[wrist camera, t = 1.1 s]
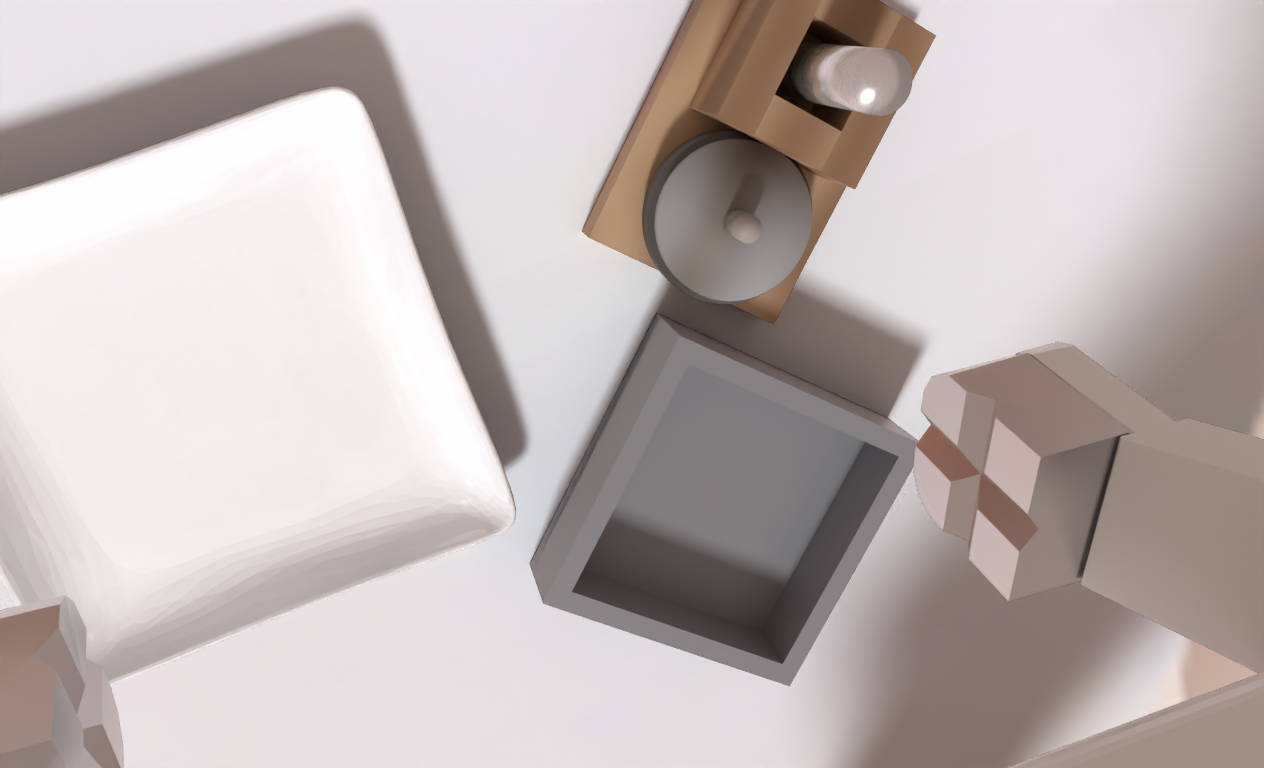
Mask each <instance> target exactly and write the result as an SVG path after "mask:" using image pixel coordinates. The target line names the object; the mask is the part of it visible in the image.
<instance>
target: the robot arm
mask: <svg viewBox="0 0 1264 768" xmlns="http://www.w3.org/2000/svg"><path fill="white" fill-rule="evenodd" d="M921 411H922V413H923V414H924V415H925V417H926V418H927V419H928V421H929V422H930V423H931V425H930V427H929V428H928V429H927V431H926V432H925V434H924V435H923V436H922V438H921V439H920V440H919V442H918V443H917V445H916V448H915V458H914V468H913V474H914V478H915V482H916V486H917V490H918V494H919V498H920V499H921V501H922V503H923V505H924V507H925V509H926V510H927V512H928V514H929V515H930V517H931V518H932V519H933V520H934V521H935V522H936V523H937V525H938V526H939V527H940V528H941V529H942V530H943V531H945V532H948V533H950V534H953V535H955V536H958V537H960V538H963V539H966V540H968V541H969V560H970V561H971V562H972V563H973V564H974V565H975V566H976V567H977V568H978V569H979V570H980V572H981V573H982V574H983V575H984V576H985V577H986V578H987V579H988V580H989V581H990V582H991V583H992V584H993V586H994V587H995V588H996V589H997V590H998V591H999V592H1000V593H1001V594H1002V595H1003V596H1004V597H1005V598H1006V600H1007V601H1008V602H1009V601H1013V600H1016V599H1020V598H1023V597H1026V596H1030V595H1033V594H1037V593H1040V592H1044V591H1047V590H1050V589H1054V588H1057V587H1061V586H1064V585H1068V584H1071V583H1074V582H1078V581H1081V580H1082V581H1081V585H1082V586H1084V587H1086V588H1088V589H1090V590H1092V591H1094V592H1096V593H1098V594H1100V595H1102V596H1104V597H1106V598H1108V599H1110V600H1112V601H1114V602H1116V603H1118V604H1120V605H1122V606H1124V607H1126V608H1128V609H1130V610H1132V611H1134V612H1136V613H1138V614H1140V615H1142V616H1144V617H1146V618H1148V619H1150V620H1152V621H1154V622H1156V623H1158V624H1160V625H1162V626H1164V627H1166V628H1168V629H1170V630H1172V631H1174V632H1176V633H1178V634H1180V635H1182V636H1184V637H1186V638H1188V639H1190V640H1192V641H1194V642H1196V643H1198V644H1200V645H1202V646H1205V647H1206V648H1208V649H1210V650H1212V651H1214V652H1216V653H1218V654H1220V655H1222V656H1224V657H1226V658H1228V659H1230V660H1232V661H1234V662H1236V663H1238V664H1240V665H1242V666H1244V667H1246V668H1249V669H1250V670H1252V671H1254V672H1256V673H1258V674H1256V675H1254V676H1251V677H1248V678H1246V679H1243V680H1240V681H1238V682H1235V683H1232V684H1230V685H1227V686H1224V687H1222V688H1219V689H1216V690H1213V691H1211V692H1208V693H1206V694H1203V695H1200V696H1198V697H1195V698H1192V699H1189V700H1187V701H1184V702H1181V703H1179V704H1176V705H1173V706H1171V707H1168V708H1165V709H1162V710H1160V711H1157V712H1154V713H1152V714H1149V715H1146V716H1144V717H1141V718H1138V719H1136V720H1133V721H1130V722H1128V723H1125V724H1122V725H1120V726H1117V727H1114V728H1112V729H1109V730H1106V731H1104V732H1101V733H1098V734H1095V735H1093V736H1090V737H1087V738H1085V739H1082V740H1079V741H1077V742H1074V743H1071V744H1069V745H1066V746H1063V747H1061V748H1058V749H1055V750H1053V751H1050V752H1047V753H1045V754H1042V755H1039V756H1037V757H1034V758H1031V759H1028V760H1026V761H1023V762H1020V763H1018V764H1015V765H1012V766H1010V767H1007V768H1264V439H1261V438H1258V437H1254V436H1250V435H1247V434H1243V433H1240V432H1236V431H1233V430H1229V429H1225V428H1222V427H1218V426H1215V425H1211V424H1208V423H1204V422H1201V421H1197V420H1193V419H1190V418H1186V419H1182V420H1178V421H1175V420H1173V419H1172V418H1171V417H1169V416H1168V415H1167V414H1165V413H1164V412H1163V411H1161V410H1160V409H1158V408H1157V407H1156V406H1154V405H1153V404H1152V403H1150V402H1149V401H1148V400H1146V399H1145V398H1144V397H1142V396H1141V395H1140V394H1138V393H1137V392H1136V391H1134V390H1133V389H1131V388H1130V387H1129V386H1127V385H1126V384H1125V383H1123V382H1122V381H1121V380H1119V379H1118V378H1117V377H1115V376H1114V375H1113V374H1111V373H1110V372H1109V371H1107V370H1106V369H1104V368H1103V367H1102V366H1100V365H1099V364H1098V363H1096V362H1095V361H1094V360H1092V359H1091V358H1090V357H1088V356H1087V355H1086V354H1084V353H1083V352H1082V351H1080V350H1079V349H1077V348H1076V347H1075V346H1073V345H1070V344H1066V343H1062V342H1055V343H1051V344H1048V345H1044V346H1041V347H1037V348H1033V349H1030V350H1026V351H1023V352H1019V353H1017V354H1015V355H1014V356H1009V357H1005V358H1001V359H997V360H993V361H989V362H986V363H982V364H978V365H974V366H970V367H966V368H962V369H959V370H955V371H951V372H947V373H943V374H939V375H935V376H932V377H931V379H930V381H929V383H928V384H927V386H926V388H925V389H924V394H923V400H922V406H921ZM0 768H124V756H123V741H122V735H121V728H120V721H119V715H118V710H117V707H116V703H115V700H114V696H113V693H112V690H111V686H110V684H109V681H108V679H107V676H106V674H105V672H104V669H103V667H102V666H101V665H98V664H96V663H94V662H92V661H90V660H88V659H86V627H85V625H84V622H83V620H82V618H81V616H80V614H79V612H78V610H77V607H76V605H75V603H74V601H73V600H72V599H70V598H69V597H67V596H66V595H64V596H59V597H55V598H51V599H46V600H42V601H38V602H33V603H29V604H25V605H21V606H16V607H12V608H8V609H3V610H0Z"/></svg>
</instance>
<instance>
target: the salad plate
mask: <svg viewBox="0 0 1264 768" xmlns="http://www.w3.org/2000/svg"><path fill="white" fill-rule="evenodd" d="M515 517H516V507H515V502H514V498H513V494H512V491H511V488H510V485H509V482H508V480H507V477H506V474H505V471H504V468H503V465H502V463H501V460H500V458H499V455H498V453H497V451H496V448H495V446H494V444H493V442H492V439H491V437H490V434H489V431H488V429H487V427H486V425H485V422H484V420H483V418H482V415H481V413H480V411H479V408H478V406H477V404H476V401H475V399H474V396H473V394H472V392H471V389H470V387H469V384H468V382H467V380H466V377H465V375H464V372H463V370H462V368H461V365H460V363H459V360H458V357H457V355H456V353H455V350H454V348H453V346H452V343H451V341H450V338H449V336H448V333H447V331H446V328H445V325H444V323H443V320H442V317H441V315H440V312H439V309H438V307H437V304H436V301H435V298H434V296H433V293H432V290H431V288H430V285H429V282H428V279H427V277H426V274H425V271H424V268H423V265H422V262H421V260H420V257H419V254H418V252H417V249H416V246H415V243H414V240H413V237H412V234H411V231H410V228H409V225H408V222H407V219H406V216H405V213H404V210H403V207H402V205H401V202H400V199H399V196H398V193H397V190H396V187H395V184H394V181H393V178H392V175H391V172H390V169H389V166H388V163H387V160H386V157H385V154H384V151H383V148H382V145H381V143H380V140H379V138H378V135H377V132H376V130H375V127H374V125H373V122H372V120H371V118H370V115H369V113H368V111H367V109H366V107H365V105H364V103H363V102H362V101H361V100H360V98H359V97H358V96H357V94H355V93H354V92H352V91H351V90H350V89H347V88H344V87H338V86H331V87H324V88H319V89H315V90H311V91H306V92H302V93H299V94H297V95H294V96H291V97H287V98H284V99H281V100H278V101H275V102H272V103H269V104H266V105H264V106H261V107H258V108H256V109H253V110H250V111H248V112H245V113H242V114H239V115H237V116H234V117H231V118H228V119H225V120H222V121H220V122H217V123H214V124H211V125H208V126H206V127H203V128H200V129H197V130H195V131H192V132H189V133H186V134H184V135H181V136H178V137H175V138H172V139H169V140H166V141H163V142H161V143H158V144H155V145H152V146H149V147H146V148H143V149H140V150H137V151H135V152H132V153H129V154H126V155H123V156H120V157H117V158H115V159H112V160H109V161H106V162H103V163H100V164H98V165H95V166H92V167H88V168H85V169H82V170H78V171H75V172H72V173H69V174H66V175H63V176H60V177H57V178H53V179H50V180H47V181H44V182H40V183H37V184H34V185H31V186H27V187H24V188H21V189H17V190H14V191H10V192H7V193H3V194H0V579H1V581H2V582H3V584H4V586H5V588H6V589H7V591H8V593H9V595H10V596H11V598H12V600H13V602H14V604H15V606H21V605H25V604H29V603H33V602H38V601H42V600H46V599H51V598H55V597H59V596H64V595H66V596H67V597H69V598H70V599H72V600H73V601H74V603H75V605H76V607H77V610H78V612H79V614H80V616H81V618H82V620H83V622H84V625H85V627H86V659H88V660H90V661H92V662H94V663H96V664H98V665H101V666H102V667H103V669H104V672H105V674H106V676H107V679H108V681H109V684H110V686H112V685H115V684H117V683H120V682H123V681H125V680H128V679H131V678H133V677H136V676H138V675H141V674H143V673H146V672H148V671H150V670H153V669H155V668H158V667H160V666H162V665H165V664H167V663H170V662H172V661H174V660H177V659H179V658H182V657H184V656H187V655H189V654H192V653H194V652H196V651H199V650H201V649H204V648H206V647H208V646H211V645H213V644H216V643H218V642H220V641H223V640H225V639H228V638H230V637H233V636H235V635H238V634H240V633H243V632H245V631H248V630H250V629H252V628H255V627H257V626H260V625H262V624H265V623H267V622H270V621H272V620H275V619H277V618H280V617H282V616H285V615H288V614H290V613H293V612H295V611H298V610H300V609H303V608H305V607H308V606H310V605H313V604H315V603H318V602H320V601H323V600H325V599H328V598H331V597H333V596H336V595H338V594H340V593H343V592H346V591H349V590H352V589H354V588H357V587H359V586H362V585H364V584H367V583H370V582H373V581H376V580H379V579H382V578H385V577H388V576H391V575H393V574H396V573H399V572H402V571H405V570H408V569H410V568H413V567H416V566H419V565H422V564H424V563H427V562H430V561H433V560H435V559H438V558H441V557H444V556H446V555H449V554H452V553H455V552H457V551H460V550H462V549H465V548H467V547H470V546H472V545H475V544H477V543H480V542H482V541H484V540H487V539H489V538H492V537H494V536H496V535H498V534H500V533H502V532H504V531H506V530H507V529H508V528H510V527H511V526H512V525H513V524H514V522H515Z"/></svg>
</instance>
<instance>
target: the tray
mask: <svg viewBox="0 0 1264 768" xmlns="http://www.w3.org/2000/svg"><path fill="white" fill-rule="evenodd" d="M918 442H919V441H918V440H917V439H915V438H914V437H913V436H911V435H910V434H909V433H907V432H906V431H905V430H903V429H902V428H901V427H899V426H898V425H896V424H895V423H894V422H892V421H891V420H890V419H888V418H887V417H884V416H882V415H880V414H878V413H875V412H873V411H871V410H869V409H867V408H864V407H862V406H860V405H858V404H856V403H853V402H851V401H849V400H847V399H845V398H842V397H840V396H838V395H836V394H834V393H831V392H829V391H827V390H825V389H823V388H820V387H818V386H816V385H814V384H812V383H809V382H807V381H805V380H803V379H801V378H798V377H796V376H794V375H792V374H790V373H787V372H785V371H783V370H781V369H778V368H776V367H774V366H772V365H770V364H767V363H765V362H763V361H761V360H759V359H756V358H754V357H752V356H750V355H748V354H745V353H743V352H741V351H739V350H737V349H734V348H732V347H730V346H728V345H726V344H723V343H721V342H719V341H717V340H715V339H712V338H710V337H708V336H706V335H704V334H701V333H699V332H697V331H695V330H693V329H690V328H688V327H686V326H684V325H682V324H679V323H677V322H675V321H673V320H670V319H668V318H666V317H664V316H662V315H659V314H657V313H656V315H655V317H654V319H653V320H652V322H651V324H650V326H649V328H648V330H647V332H646V334H645V336H644V338H643V340H642V342H641V344H640V346H639V348H638V350H637V352H636V354H635V356H634V358H633V360H632V362H631V364H630V366H629V368H628V370H627V372H626V374H625V376H624V378H623V380H622V382H621V384H620V386H619V388H618V390H617V392H616V394H615V396H614V398H613V400H612V402H611V404H610V406H609V408H608V410H607V412H606V414H605V416H604V418H603V420H602V422H601V424H600V426H599V428H598V430H597V432H596V434H595V436H594V438H593V440H592V442H591V444H590V446H589V448H588V450H587V452H586V453H585V455H584V457H583V459H582V461H581V463H580V465H579V467H578V469H577V471H576V473H575V475H574V477H573V479H572V481H571V483H570V485H569V487H568V489H567V491H566V493H565V495H564V497H563V499H562V501H561V503H560V505H559V507H558V509H557V511H556V513H555V515H554V517H553V519H552V521H551V523H550V525H549V527H548V529H547V531H546V533H545V535H544V537H543V539H542V541H541V543H540V545H539V547H538V549H537V551H536V553H535V555H534V557H533V559H532V561H531V563H530V567H531V570H532V572H533V575H534V578H535V581H536V584H537V587H538V590H539V593H540V596H541V598H542V601H543V604H546V605H549V606H552V607H555V608H558V609H561V610H564V611H567V612H570V613H573V614H576V615H579V616H582V617H585V618H588V619H591V620H594V621H597V622H600V623H603V624H606V625H609V626H612V627H615V628H618V629H621V630H623V631H626V632H629V633H632V634H635V635H638V636H641V637H644V638H647V639H650V640H653V641H656V642H659V643H662V644H665V645H668V646H671V647H674V648H677V649H680V650H683V651H686V652H689V653H692V654H695V655H698V656H701V657H704V658H707V659H710V660H713V661H716V662H719V663H722V664H725V665H728V666H731V667H734V668H737V669H740V670H743V671H746V672H749V673H752V674H755V675H758V676H761V677H764V678H767V679H770V680H773V681H776V682H779V683H782V684H785V685H788V686H790V685H791V683H792V681H793V679H794V677H795V676H796V674H797V672H798V670H799V669H800V667H801V665H802V663H803V662H804V660H805V658H806V656H807V654H808V653H809V651H810V649H811V647H812V646H813V644H814V642H815V640H816V638H817V637H818V635H819V633H820V631H821V630H822V628H823V626H824V624H825V623H826V621H827V619H828V617H829V615H830V614H831V612H832V610H833V608H834V607H835V605H836V603H837V601H838V600H839V598H840V596H841V594H842V592H843V591H844V589H845V587H846V585H847V584H848V582H849V580H850V578H851V576H852V575H853V573H854V571H855V569H856V568H857V566H858V564H859V562H860V561H861V559H862V557H863V555H864V553H865V552H866V550H867V548H868V546H869V545H870V543H871V541H872V539H873V538H874V536H875V534H876V532H877V530H878V529H879V527H880V525H881V523H882V522H883V520H884V518H885V516H886V514H887V513H888V511H889V509H890V507H891V506H892V504H893V502H894V500H895V499H896V497H897V495H898V493H899V491H900V490H901V488H902V486H903V484H904V483H905V481H906V479H907V477H908V475H909V474H910V472H911V470H912V468H913V467H914V458H915V448H916V445H917V443H918Z"/></svg>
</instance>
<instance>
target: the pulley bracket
mask: <svg viewBox="0 0 1264 768" xmlns="http://www.w3.org/2000/svg"><path fill="white" fill-rule="evenodd" d="M935 37H936V35H934V34H933V33H931V32H929V31H928V30H926V29H925V28H923V27H921V26H920V25H918V24H916V23H915V22H913V21H912V20H910V19H908V18H907V17H905V16H903V15H902V14H900V13H899V12H897V11H895V10H894V9H892V8H890V7H889V6H887V5H886V4H884V3H882V2H881V1H879V0H694V1H693V3H692V5H691V7H690V9H689V11H688V13H687V15H686V17H685V19H684V21H683V23H682V25H681V28H680V30H679V32H678V34H677V36H676V38H675V40H674V42H673V44H672V46H671V48H670V50H669V52H668V54H667V56H666V59H665V61H664V63H663V65H662V67H661V69H660V71H659V73H658V75H657V77H656V79H655V81H654V83H653V85H652V87H651V90H650V92H649V94H648V96H647V98H646V100H645V102H644V104H643V106H642V108H641V110H640V112H639V114H638V116H637V119H636V121H635V123H634V125H633V127H632V129H631V131H630V133H629V135H628V137H627V139H626V141H625V143H624V145H623V147H622V150H621V152H620V154H619V156H618V158H617V160H616V162H615V164H614V166H613V168H612V170H611V172H610V174H609V176H608V178H607V181H606V183H605V185H604V187H603V189H602V191H601V193H600V195H599V197H598V199H597V201H596V203H595V205H594V207H593V209H592V212H591V214H590V216H589V218H588V220H587V222H586V224H585V226H584V228H583V230H582V232H583V233H584V234H585V235H587V236H588V237H589V238H591V239H593V240H595V241H597V242H599V243H601V244H604V245H606V246H608V247H610V248H612V249H614V250H616V251H619V252H621V253H623V254H625V255H627V256H629V257H631V258H633V259H636V260H638V261H640V262H642V263H644V264H646V265H648V266H650V267H653V268H655V269H657V270H659V271H660V272H661V274H662V275H663V276H664V277H665V278H666V279H667V280H668V281H670V282H671V283H672V284H673V285H674V286H676V287H677V288H678V289H680V290H681V291H682V292H684V293H686V294H688V295H689V296H691V297H693V298H696V299H699V300H701V301H705V302H709V303H717V304H731V305H734V306H736V307H738V308H740V309H742V310H744V311H746V312H748V313H751V314H753V315H755V316H757V317H759V318H761V319H763V320H766V321H768V322H770V323H772V324H774V323H775V321H776V319H777V317H778V315H779V313H780V312H781V310H782V308H783V306H784V304H785V302H786V300H787V298H788V296H789V294H790V292H791V291H792V289H793V287H794V285H795V283H796V281H797V279H798V277H799V275H800V273H801V272H802V270H803V268H804V266H805V264H806V262H807V260H808V258H809V256H810V254H811V253H812V251H813V249H814V247H815V245H816V243H817V241H818V239H819V237H820V235H821V234H822V232H823V230H824V228H825V226H826V224H827V222H828V220H829V218H830V216H831V214H832V213H833V211H834V209H835V207H836V205H837V203H838V201H839V199H840V197H841V195H842V194H843V192H844V190H845V188H846V186H848V187H851V188H853V189H855V188H856V187H857V185H858V183H859V181H860V179H861V177H862V175H863V173H864V171H865V169H866V168H867V166H868V164H869V162H870V160H871V158H872V156H873V154H874V152H875V150H876V149H877V147H878V145H879V143H880V141H881V139H882V137H883V135H884V133H885V132H886V130H887V128H888V126H889V124H890V122H891V120H892V118H893V116H894V114H895V113H896V111H897V110H896V111H895V112H893V113H891V114H888V115H884V116H875V115H870V114H865V113H860V112H855V111H850V110H846V109H841V108H836V107H831V106H826V105H821V104H816V103H811V102H806V101H801V100H796V99H791V98H786V97H783V96H780V95H779V94H777V93H776V91H777V89H778V87H779V85H780V83H781V81H782V79H783V77H784V75H785V73H786V71H787V69H788V67H789V65H790V63H791V61H792V59H793V57H794V55H795V53H796V51H797V49H798V47H799V45H800V43H801V42H807V43H820V44H833V45H846V46H859V47H872V48H885V49H892V50H895V51H897V52H899V53H900V54H902V55H903V56H904V57H905V59H906V60H907V61H908V63H909V65H910V68H911V71H912V80H913V78H914V77H915V75H916V73H917V71H918V69H919V67H920V65H921V63H922V61H923V59H924V58H925V56H926V54H927V52H928V50H929V48H930V46H931V44H932V42H933V40H934V39H935Z"/></svg>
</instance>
